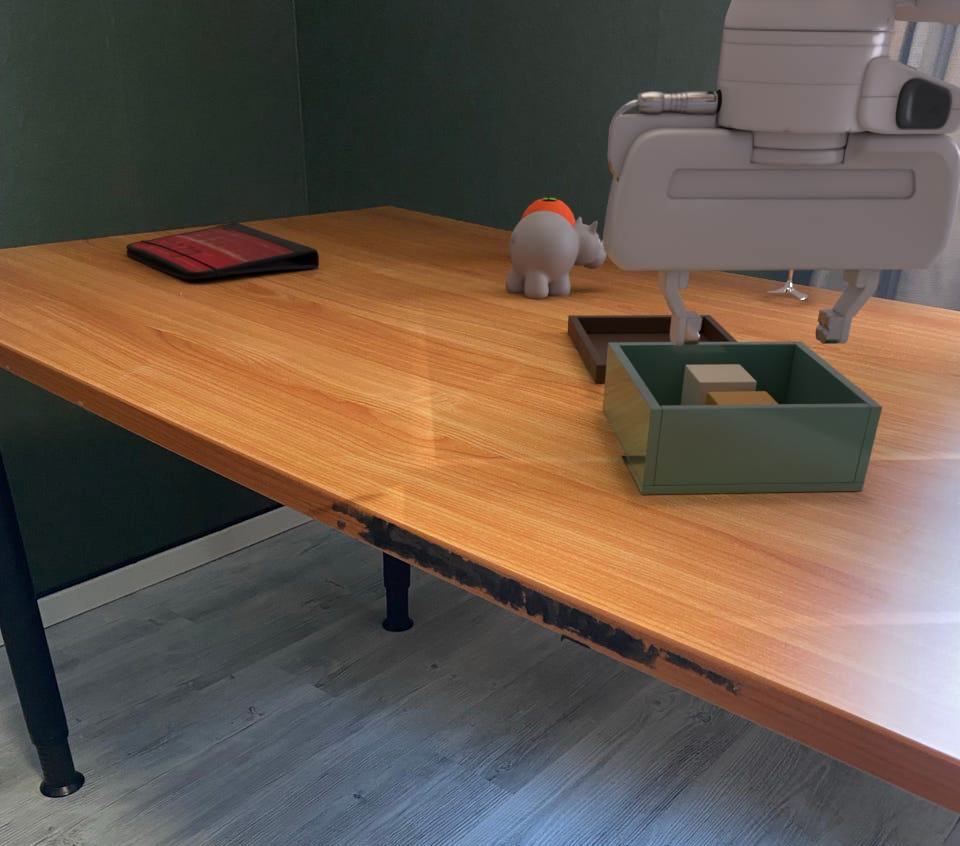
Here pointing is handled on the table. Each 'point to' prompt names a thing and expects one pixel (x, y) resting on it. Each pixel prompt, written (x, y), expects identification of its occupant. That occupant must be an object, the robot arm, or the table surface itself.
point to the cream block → (713, 381)
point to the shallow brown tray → (627, 335)
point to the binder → (222, 252)
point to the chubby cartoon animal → (550, 254)
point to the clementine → (551, 208)
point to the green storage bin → (738, 421)
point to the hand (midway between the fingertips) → (757, 342)
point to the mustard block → (740, 398)
